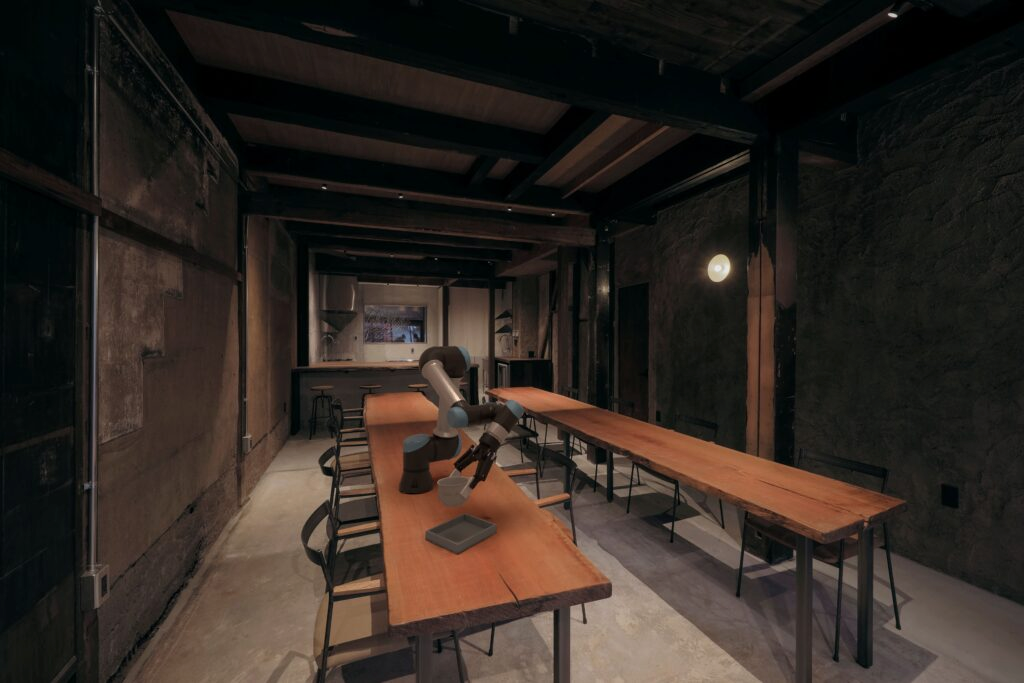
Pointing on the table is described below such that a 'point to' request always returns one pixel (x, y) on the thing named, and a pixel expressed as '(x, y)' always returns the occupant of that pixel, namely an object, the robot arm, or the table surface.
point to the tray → (460, 533)
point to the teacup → (452, 490)
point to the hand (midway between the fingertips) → (454, 491)
